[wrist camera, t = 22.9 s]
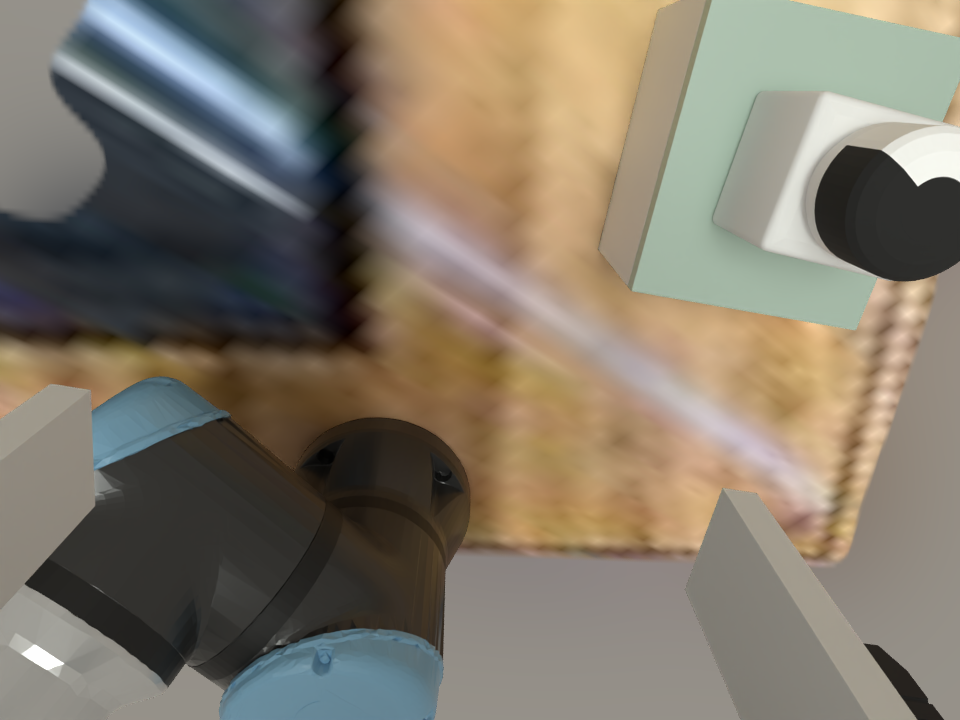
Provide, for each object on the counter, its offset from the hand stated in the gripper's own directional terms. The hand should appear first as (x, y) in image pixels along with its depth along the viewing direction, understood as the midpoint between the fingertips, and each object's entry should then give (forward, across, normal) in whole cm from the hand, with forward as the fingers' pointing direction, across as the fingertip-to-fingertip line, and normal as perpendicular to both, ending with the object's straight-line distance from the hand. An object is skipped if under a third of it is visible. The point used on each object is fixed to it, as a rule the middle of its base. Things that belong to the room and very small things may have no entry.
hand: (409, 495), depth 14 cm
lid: (+27, -18, -7) cm, 33 cm away
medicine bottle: (+26, -18, -7) cm, 32 cm away
